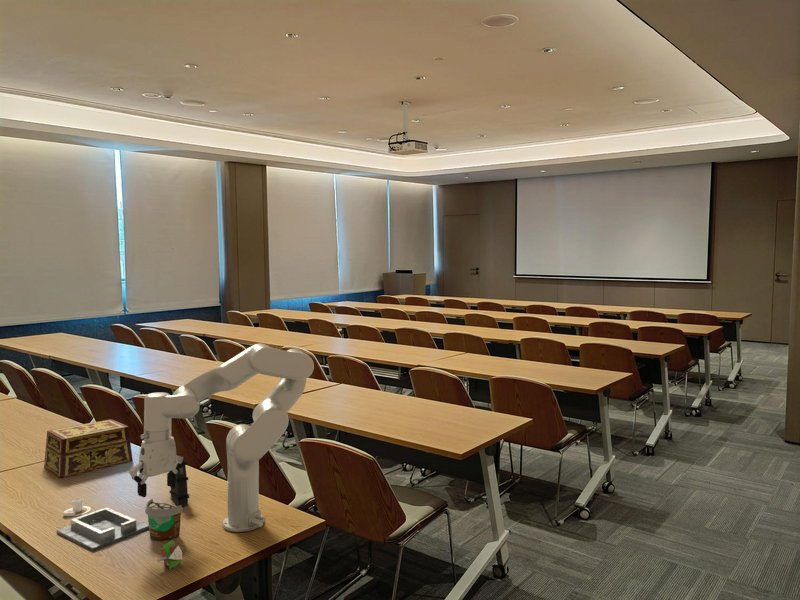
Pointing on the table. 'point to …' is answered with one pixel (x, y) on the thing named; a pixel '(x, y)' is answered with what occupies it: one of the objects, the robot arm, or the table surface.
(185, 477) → the black tall block
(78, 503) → the white curved piece
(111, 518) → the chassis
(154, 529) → the food container
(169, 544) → the geometric puzzle
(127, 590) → the table surface
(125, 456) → the decorative box
